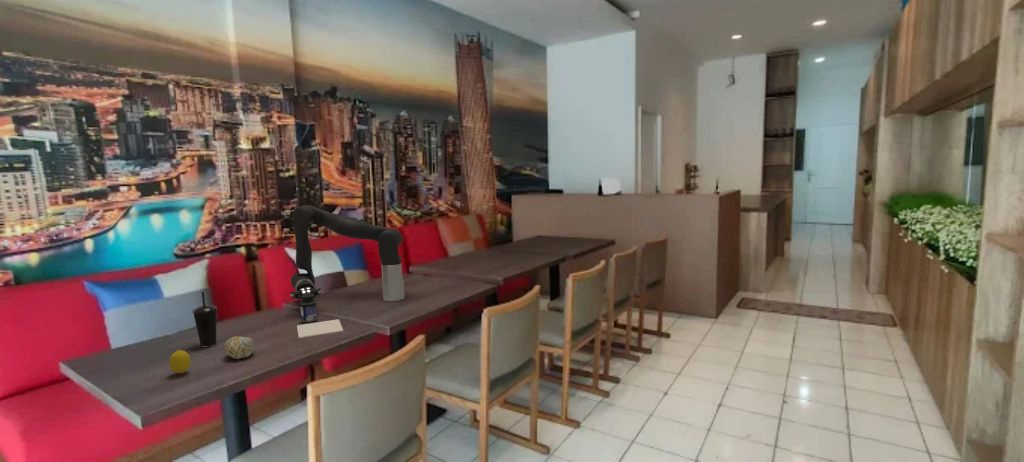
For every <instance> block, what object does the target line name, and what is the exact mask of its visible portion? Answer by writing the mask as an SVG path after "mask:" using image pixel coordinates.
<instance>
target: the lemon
mask: <svg viewBox="0 0 1024 462" xmlns="http://www.w3.org/2000/svg"><path fill="white" fill-rule="evenodd" d="M191 362H192V359H191V357H190V355H189V353H188V352H187V351H185V350H182V349H177V350H176V351H175V352H173V353H172V354H171V355H170V357H169V366H170V369H171V371H172V372H174V373H177V374H180V373H182V372H184V373H185V372H186V371H188V369H189V368H190V366H191Z"/></svg>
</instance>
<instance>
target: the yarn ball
mask: <svg viewBox="0 0 1024 462" xmlns="http://www.w3.org/2000/svg"><path fill="white" fill-rule="evenodd" d="M254 343H255V342H254V340H253V339H252V337H247V336H242V335H235V336H232V337H231V338H229V339H228V340H226V342H225V343H224V351H225V353H226V354H227V355H228V356H229V357H230V358H232V359H236V360H241V358H243V359H246V358H248V357H250V356H251V355H252V354H253V352H254V350H255V344H254ZM245 357H246V358H245Z"/></svg>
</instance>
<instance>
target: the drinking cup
mask: <svg viewBox="0 0 1024 462" xmlns="http://www.w3.org/2000/svg"><path fill="white" fill-rule="evenodd" d="M201 297H202V305H200V306H198V307H196V308H195V309H193V310H191V312H192V314H193V317H194V318H193V319H194V321H195V326H196V331H197V335H198V339H199V344H200V347H201V346H211V345H214V344H216V345H217V310H218V307H217V306H215V305H210V304H206V300H205V292H204V291H201ZM214 346H215V345H214Z"/></svg>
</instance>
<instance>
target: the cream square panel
mask: <svg viewBox="0 0 1024 462" xmlns="http://www.w3.org/2000/svg"><path fill="white" fill-rule="evenodd" d="M296 327H297V328H296V329H297V334H298V335H297V337H298V339H304V338H312V337H316V336H323V335H331V334H335V333H341V332H344V329H343V326H342V323H341V321H340V319H339V318H338V319H331V320H326V321H325V320H323V321H319V322H317V321H316V322H313V323H302V324H299V325H298V324H297V325H296Z"/></svg>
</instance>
